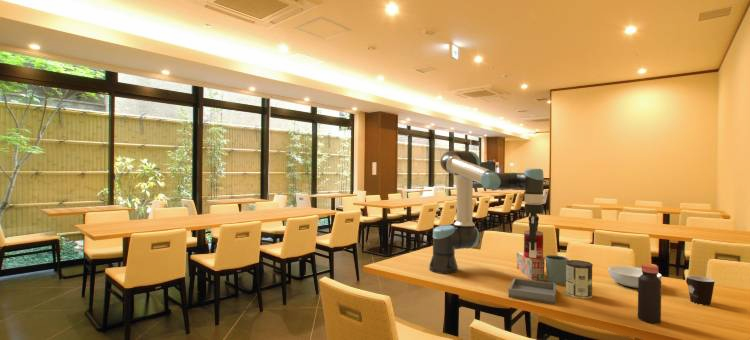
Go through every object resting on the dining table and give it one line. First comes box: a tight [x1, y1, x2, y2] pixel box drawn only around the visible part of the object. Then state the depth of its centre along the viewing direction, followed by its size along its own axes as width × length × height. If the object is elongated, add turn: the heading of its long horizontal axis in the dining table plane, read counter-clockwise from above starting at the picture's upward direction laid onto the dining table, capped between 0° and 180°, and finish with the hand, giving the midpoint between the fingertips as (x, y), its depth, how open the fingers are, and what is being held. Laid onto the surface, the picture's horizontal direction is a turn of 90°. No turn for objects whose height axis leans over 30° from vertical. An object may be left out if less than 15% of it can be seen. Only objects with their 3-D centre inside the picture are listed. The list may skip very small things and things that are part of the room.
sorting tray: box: [508, 277, 557, 305], centre depth 162 cm, size 18×18×4 cm
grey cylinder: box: [544, 254, 569, 286], centre depth 181 cm, size 10×10×12 cm
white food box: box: [516, 249, 546, 281], centre depth 194 cm, size 21×6×12 cm, turn 178°
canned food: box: [523, 230, 544, 259], centre depth 162 cm, size 8×8×11 cm
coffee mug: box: [685, 275, 715, 306], centre depth 155 cm, size 12×9×10 cm
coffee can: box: [565, 259, 594, 300], centre depth 162 cm, size 10×10×14 cm
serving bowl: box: [608, 265, 662, 289], centre depth 176 cm, size 21×21×7 cm
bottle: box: [637, 263, 662, 324], centre depth 135 cm, size 7×7×20 cm
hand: (533, 255), depth 162 cm, fingers closed on canned food, 8 cm apart
